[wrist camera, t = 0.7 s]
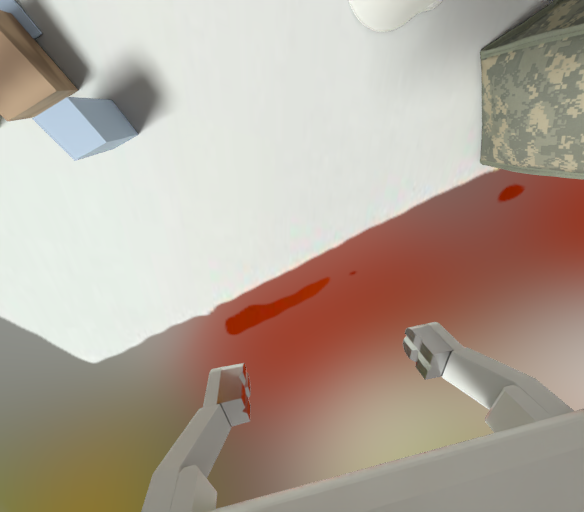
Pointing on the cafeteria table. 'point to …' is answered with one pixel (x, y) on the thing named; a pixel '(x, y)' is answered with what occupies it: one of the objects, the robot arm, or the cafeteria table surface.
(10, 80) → the walnut block
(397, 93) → the cafeteria table surface
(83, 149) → the pillar
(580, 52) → the bag
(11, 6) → the swatch
